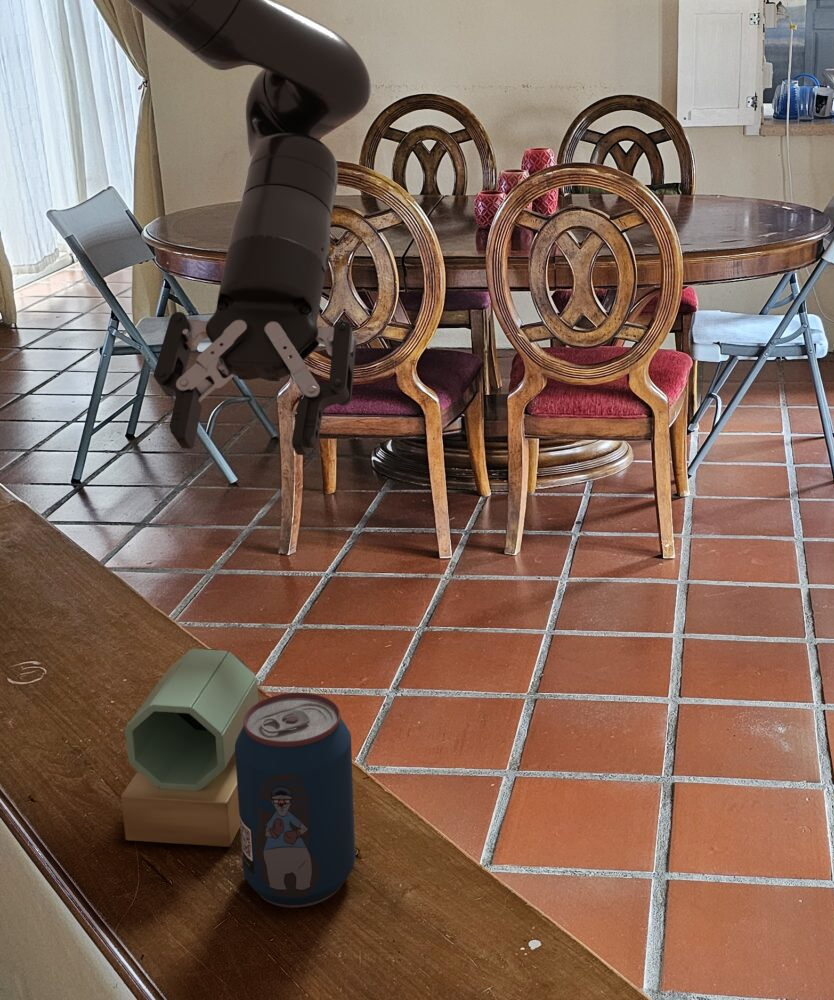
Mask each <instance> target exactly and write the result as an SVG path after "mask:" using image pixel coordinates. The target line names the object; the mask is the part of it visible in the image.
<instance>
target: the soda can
mask: <svg viewBox="0 0 834 1000" xmlns="http://www.w3.org/2000/svg"><path fill="white" fill-rule="evenodd" d="M243 725H244V726H243V728H242V730H241V732H240V734H239V736H238V738H237V740H236V743H235V757H236V772H237V787H238V801H239V816H240V828H239V830H240V843H241V857H242V860H241V861H242V871H243V875H244V878H245V879H246V882H247V883H248V884H249V885H250V887H251V888H252V890H254V891H255V892H256V893H257V894H258V895H259V896H260V897H261V898H262V899H263V900H265V901H266V902H267V903H269V904H272V905H274V906H278V907H282V908H289V909H291V908H295V909H296V908H306V907H311V906H314V905H317V904H319V903H323V902H324V901H327V900H329V899H330V898H331V897H333V896H334V895H335V894H336V893H338V891H339V890H340V889H341V888H342V886H343V885H344V883H345V882H346V881H347V879H348V877H349V876H350V874H351V873H352V871H353V868H354V866H355V861H356V842H355V841H356V839H355V836H356V835H355V813H354V812H355V811H354V810H355V807H354V785H353V784H354V783H353V782H354V781H353V754H352V753H353V751H352V749H353V748H352V734H351V731H350V729H349V727H348V726H347V725H346V723H345V721H344V720H343V718H342V716H341V709H340V707H339V706H338V705H337V704H336V703H335V702H334V701H333V700H332V699H329V698H327V697H325V696H323V695H320V694H316V693H311V692H310V693H309V692H286V693H280V694H275V695H272V696H269V697H267V698H264V699H262V700H260V701H259V702H258V703H257V704H255V705H254V706H252V707H251V708H250V709H249V710H248V711H247V713H246V714H245V716H244V720H243Z"/></svg>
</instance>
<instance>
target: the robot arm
mask: <svg viewBox="0 0 834 1000" xmlns="http://www.w3.org/2000/svg"><path fill="white" fill-rule="evenodd" d="M126 1H127V2H128V3H129V4H130V5H131V6H132V7H133V8H135V9H136V10H137V11H138V12H140V13H141V15H143V16H144V17H145V18H146V19H148V20H149V21H150V22H152V23H153V25H155V26H156V27H158V28H159V29H160V30H162V31H163V32H164V33H165V34H167V35H168V36H169V37H171V39H173V40H174V41H175V42H176V43H178V44H179V45H180V46H182V47H183V48H184V49H186V50H187V51H188V52H190V54H192V55H193V56H195V57H196V58H197V59H198V60H200V61H201V62H202V63H204V64H205V65H207V66H209V67H211V68H212V69H214V70H218V71H228V70H232V69H236V68H240V67H245V66H255V67H258V68H261V69H262V70H260V71H259V73H258V74H257V75H256V77H255V78H254V79H253V82H252V83H251V85H250V88H249V91H248V93H247V97H246V102H245V123H246V125H245V126H246V136H247V137H246V138H247V147H248V153H249V164H248V168H247V172H246V177H245V182H244V187H243V192H242V197H241V202H240V205H239V208H238V210H237V212H236V215H235V218H234V220H233V225H232V228H231V233H230V236H229V237H230V238H229V242H228V247H227V252H226V257H225V261H224V266H223V271H222V275H221V276H222V277H221V281H220V285H219V290H218V295H217V302H216V309H215V311H214V313H213V314H212V316H211V317H210V318H209V319H208V321H207V320H197V319H188V316H186V314H185V313H184V312H181V311H176V312H174V313H172V314H171V316H170V317H169V320H168V324H167V328H166V330H165V334H164V338H163V341H162V345H161V347H160V351H159V355H158V358H157V360H156V365H155V368H154V372H153V378H154V380H155V381H156V383H157V384H158V386H159V387H160V388H161V390H162V392H163V393H164V395H166V396H167V397H175V398H174V403H173V408H172V413H171V417H170V422H169V429H170V433H171V435H172V436H173V437H174V439H175V440H176V442H177V444H178V445H179V446H180V447H181V449H189V450H193V448H194V447H195V442H196V437H197V433H198V428H199V423H200V418H201V413H202V410H203V409H202V408H203V405H202V404H201V402H202V401H203V400H204V399H205V398H206V397H207V396H209V395H211V393H212V392H213V391H214V390H216V389H221V388H223V387H224V386H225V385H226V384H228V382H229V381H231V380H232V378H234V377H237V379H238V380H243V381H251V380H256V379H262V380H265V381H268V382H280V380H281V379H282V378H286V377H288V376H289V378H291V381H292V382H293V383H294V385H295V386H296V388H297V389H298V391H299V393H300V394H301V396H302V397H303V398H299V399H298V403H297V409H296V416H295V421H294V425H293V426H294V427H293V433H292V438H291V445H292V449H293V451H294V452H295V454H296V456H308V455H309V451H310V449H315V448H316V446H317V445H318V442H319V437H320V432H321V425H322V421H323V420H322V419H323V414H324V411H325V410H326V409H327V408H329V407H331V406H334V405H338V406H340V407H345V406H348V405H349V404H350V403H351V401H352V396H353V387H354V386H353V384H354V375H355V374H354V373H355V361H356V349H357V341H356V338H355V334H354V331H353V329H352V326H351V324H350V322H349V321H347V320H343V319H342V320H339V321H336V322H335V324H334V326H318V323H317V322H318V319H319V313H320V306H321V301H322V295H323V291H324V290H323V289H324V284H325V278H326V274H327V273H326V271H327V269H328V268H329V264H330V263H329V262H330V247H331V225H332V217H333V210H334V204H335V199H336V194H337V190H338V189H337V188H338V180H339V168H338V166H339V165H338V161H337V159H336V157H335V155H334V153H333V152H332V150H331V149H330V148H329V147H328V146H327V145H326V144H325V143H323V142H322V141H321V139H322V138H324V137H325V136H326V135H328V134H330V133H332V132H333V131H335V130H336V129H337V128H339V127H341V126H342V125H344V124H345V123H347V122H348V121H350V120H352V119H353V118H354V117H356V116H358V115H359V114H360V113H361V112H362V111H363V110H364V109H365V108H366V106H367V104H368V102H369V100H370V97H371V92H372V83H371V78H370V74H369V71H368V68H367V66H366V64H365V62H364V60H363V58H362V57H361V55H360V54H359V53H358V52H357V50H356V49H355V48H354V47H353V46H352V45H351V43H349V42H348V41H347V40H346V39H345V38H344V37H342V36H341V35H340V34H338V33H337V32H336V31H334V30H333V29H331V28H329V27H327V26H326V25H323V24H322V23H321V22H318V21H316V20H314V19H313V18H310V17H308V16H307V15H304V14H303V13H300V12H299V11H297V10H296V9H295V10H294V9H293V8H291V7H289V6H287V5H286V4H284V3H281V2H279V1H277V0H126ZM204 339H209V341H210V342H211V343H210V344H209V346H207V347H206V348H205V349H204V350H203V351H202V352H201V353H199V354H198V355H197V357H196V359H195V363H194V364H192V366H191V367H190V368H189V369H187V366H188V363H189V359H190V356H191V353H192V351H196V350H197V349H198V348H199V345H200V343H201V342H202V341H203V340H204ZM320 344H321V345H323V346H324V348H325V350H326V352H327V354H328V355H329V356H330V357H331V358H330V368H329V369H330V370H329V371H330V372H329V379H328V381H325V382H322V383H318V381H317V380H316V379H315V377H314V376H313V374H312V373H311V371H310V370H309V368H308V366H307V365H306V363H305V360H306V359H307V358H308V357H309V356H310V355H312V354H313V352H315V351H316V349H318V347H319V346H320ZM220 361H222V363H221V364H219V362H220ZM218 364H219V366H218ZM186 369H187V370H186Z"/></svg>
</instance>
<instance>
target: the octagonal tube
mask: <svg viewBox="0 0 834 1000" xmlns="http://www.w3.org/2000/svg"><path fill="white" fill-rule="evenodd" d="M258 687H259V686H258V676H257V677H256V674H255V673H254V672H253V671H252V670H251V669H250V668H249V666H248V665H247V664H246V663H245V662H244V661H242V660H241V659H240V658H239V657H237V656H236V655H234V654H233V653H232V652H231V651H228V650H221V649H217V648H216V649H215V648H203V649H201V648H191V649H189V650H188V651H186V652H185V653H184V654H183V655H182V656H181V657H180V658H179V659H178V660H176V661H175V662H174V663H173V664H172V665H171V666H170V667H169V668H167V670H166V671H165V673H164V674H163V675H162V677H161V678H160V679H159V680H158V682H157V683H156V685H155V686H154V687H153V688H152V689H151V691H150V693H149V694H148V696H147V697H146V698H145V700H144V701H143V702H142V703H141V705H140V706H139V708H138V709H137V710H136V712H135V714H134V715H132V717H131V719H130V721H129V722H127V724H126V726H125V728H124V734H125V744H126V754H127V761H128V763H129V765H130V766H131V767H132V768H134V769H135V770H136V771H137V772H140V773H141V774H142V775H143V776H144V777H146V778H147V779H148V780H149V781H150V782H151V783H153V784H154V785H155V786H156V787H157V788H159V787H160V789H167V790H183V791H198V790H199V791H200V790H201V789H202V788H204V787H205V786H206V785H207V784H208V783H210V782H211V781H212V780H213V779H214V778H215V777H217V776H218V775H219V774H220V773H221V772H222V771H224V769H225V768H226V766H227V764H228V762H229V761H230V759H231V757H232V755H233V753H234V752H235V743H236V740H237V738H238V736H239V734H240V732H241V730H242V728H243V726H244V725H243V720H244V716H245V714H246V713H247V711H248V710H249V709H250V708H251V707H252V706H254V705H255V704H257V703H258V702H260V701H259V688H258Z"/></svg>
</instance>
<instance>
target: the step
mask: <svg viewBox="0 0 834 1000" xmlns="http://www.w3.org/2000/svg"><path fill="white" fill-rule="evenodd" d="M120 801H121V811H122V818H123V826H124V838H125V841H133V842H147V843H149V842H150V843H163V844H177V845H178V844H180V845H191V846H192V845H194V846H207V847H208V846H211V847H225V848H230V847H231V846H232V844H233V841H234V840H235V838H236V835H237V834H238V832H239V830H240V816H239V801H238V787H237V772H236V757H235V752H234V753H233V755H232V757H231V759H230V761H229V762H228V764H227V766H226V768H225V769H224V771H222V772H221V773H220V774H219V775H218V776H217V777H215V778H214V779H213V780H212V781H211V782H210V783H208V784H207V785H206V786H205V787H204V788H202V789H201V790H200V791H199V790H198V791H183V790H167V789H160V787H159V788H157V787H156V786H155V785H154V784H153V783H151V782H150V781H149V780H148V779H147V778H146V777H144V776H143V775H142V774H141V773H140V772H138V771H137V772H136V773H135V775H133V778H131V780H130V782H129V783H128V785H127V786H126V788H125V789H124V791H123V792H122V794H121V795H120Z"/></svg>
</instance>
